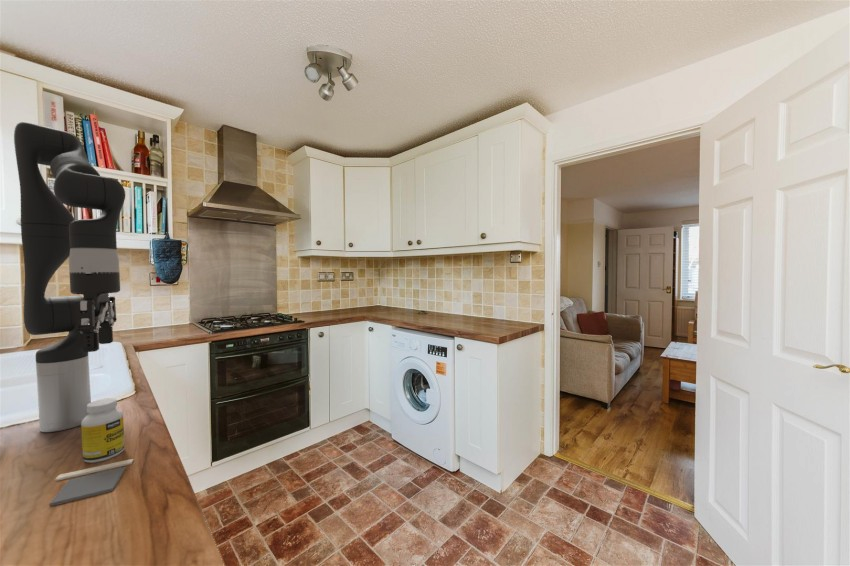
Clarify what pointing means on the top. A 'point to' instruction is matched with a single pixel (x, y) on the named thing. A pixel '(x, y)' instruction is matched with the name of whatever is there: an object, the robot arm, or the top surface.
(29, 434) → the top surface
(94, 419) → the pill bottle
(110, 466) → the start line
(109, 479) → the mat
